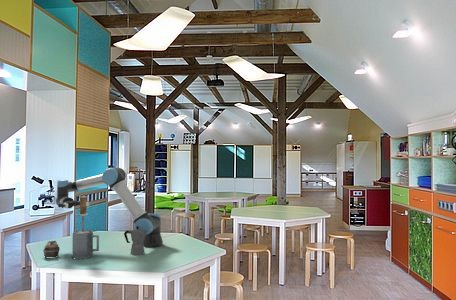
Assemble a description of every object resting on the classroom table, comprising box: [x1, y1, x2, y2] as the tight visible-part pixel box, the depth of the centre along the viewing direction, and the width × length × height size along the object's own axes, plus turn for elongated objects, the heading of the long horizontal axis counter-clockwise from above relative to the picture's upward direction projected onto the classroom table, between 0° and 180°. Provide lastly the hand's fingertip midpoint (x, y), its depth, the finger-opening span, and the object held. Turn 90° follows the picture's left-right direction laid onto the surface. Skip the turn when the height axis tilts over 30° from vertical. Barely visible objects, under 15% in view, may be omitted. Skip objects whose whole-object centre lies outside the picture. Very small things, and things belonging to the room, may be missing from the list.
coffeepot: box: [123, 226, 148, 256], centre depth 257 cm, size 15×9×18 cm, turn 107°
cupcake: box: [43, 240, 60, 258], centre depth 250 cm, size 10×10×10 cm
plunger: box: [76, 195, 90, 233], centre depth 250 cm, size 8×8×23 cm
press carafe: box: [71, 229, 100, 260], centre depth 249 cm, size 16×13×16 cm
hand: (78, 205), depth 256 cm, fingers open, 13 cm apart
